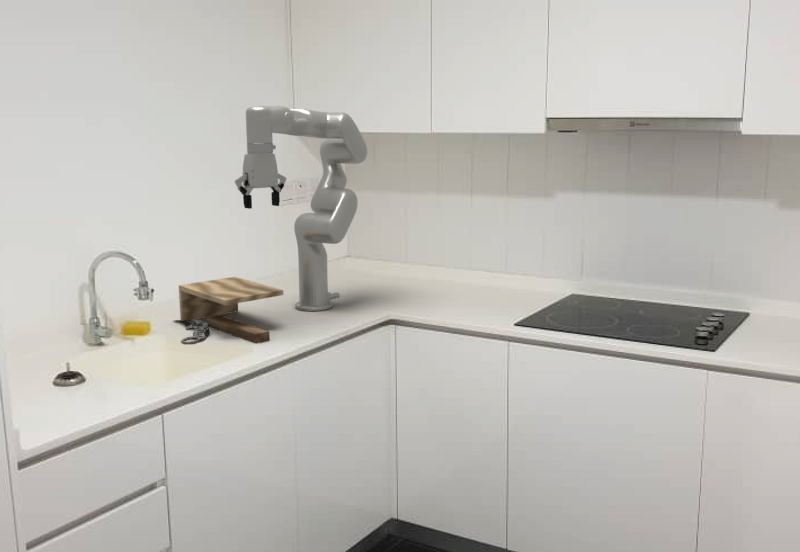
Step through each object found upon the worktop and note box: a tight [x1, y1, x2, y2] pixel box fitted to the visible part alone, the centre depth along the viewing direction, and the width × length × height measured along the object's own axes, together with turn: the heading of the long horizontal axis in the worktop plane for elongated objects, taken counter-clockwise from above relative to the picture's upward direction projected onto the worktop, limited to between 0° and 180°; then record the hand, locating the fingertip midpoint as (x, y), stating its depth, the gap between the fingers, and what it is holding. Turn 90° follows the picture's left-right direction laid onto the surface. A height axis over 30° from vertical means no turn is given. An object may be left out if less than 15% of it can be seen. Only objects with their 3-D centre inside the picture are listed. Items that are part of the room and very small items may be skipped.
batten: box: [206, 315, 271, 345], centre depth 245 cm, size 3×26×5 cm
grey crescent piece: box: [173, 319, 211, 345], centre depth 248 cm, size 28×2×10 cm
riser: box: [178, 276, 284, 321], centre depth 255 cm, size 20×28×12 cm
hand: (262, 206), depth 249 cm, fingers open, 9 cm apart
